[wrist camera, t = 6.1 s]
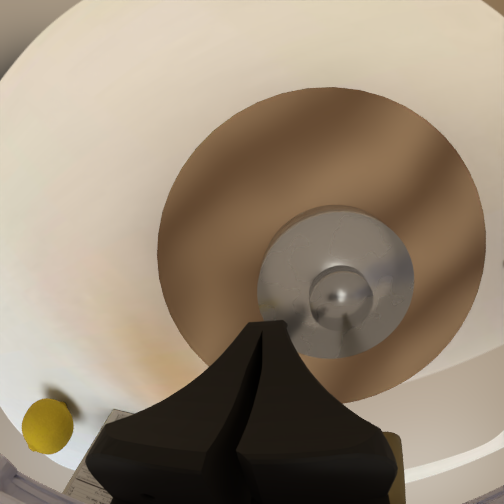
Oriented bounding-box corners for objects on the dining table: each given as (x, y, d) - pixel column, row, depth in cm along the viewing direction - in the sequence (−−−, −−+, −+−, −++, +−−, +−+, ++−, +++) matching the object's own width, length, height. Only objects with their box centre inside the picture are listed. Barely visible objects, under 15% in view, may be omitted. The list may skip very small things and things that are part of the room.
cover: (427, 264, 16) (449, 285, 13) (337, 358, 18) (343, 391, 15) (322, 172, 15) (331, 178, 12) (232, 289, 17) (221, 316, 15)
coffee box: (185, 467, 28) (147, 584, 13) (134, 456, 29) (87, 560, 13) (168, 419, 25) (108, 564, 10) (110, 407, 26) (38, 529, 11)
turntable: (515, 238, 16) (563, 264, 10) (338, 424, 22) (344, 475, 17) (290, 27, 14) (291, -18, 9) (119, 293, 20) (77, 333, 15)
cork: (408, 446, 24) (430, 532, 13) (358, 470, 26) (366, 554, 15) (388, 423, 23) (411, 524, 12) (331, 449, 24) (336, 547, 14)
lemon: (61, 417, 28) (31, 460, 21) (38, 383, 27) (2, 425, 19) (92, 423, 27) (62, 472, 20) (68, 386, 26) (30, 436, 18)
